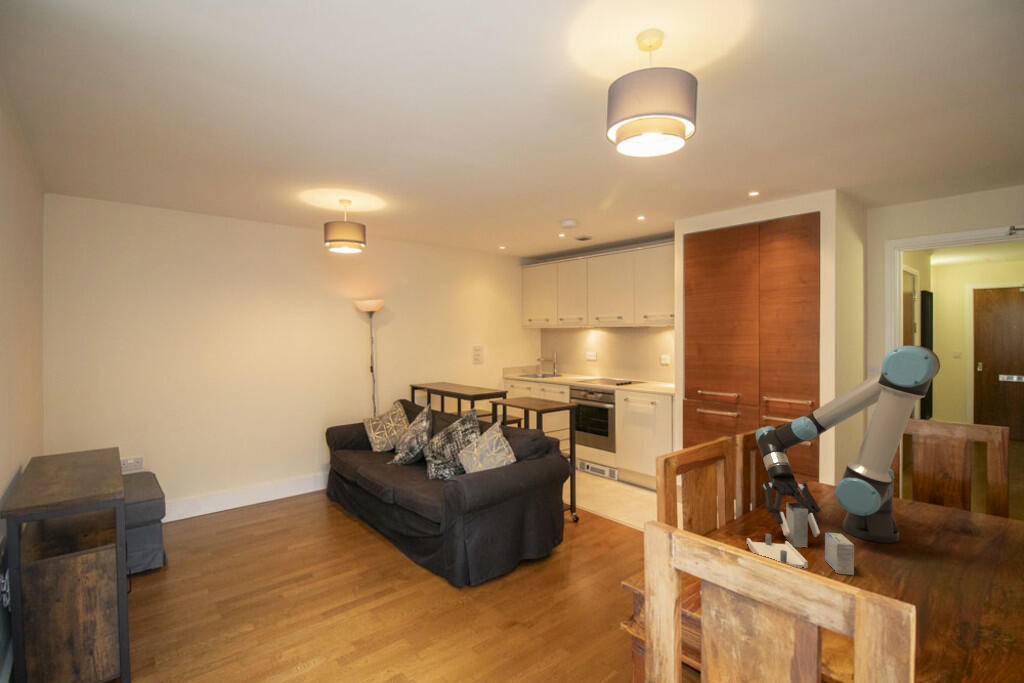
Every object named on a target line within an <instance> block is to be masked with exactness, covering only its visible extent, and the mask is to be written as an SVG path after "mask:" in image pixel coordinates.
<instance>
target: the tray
mask: <svg viewBox="0 0 1024 683" xmlns="http://www.w3.org/2000/svg"><path fill="white" fill-rule="evenodd" d="M747 544H748V546H749V547H748V546H747V547H748V548H749V549H750V551H751V552H752V554H753V553H756V554H759V555H762V556H766V557H769V558H772V559H775V560H777V561H780V562H783V563H786V564H789V565H792V566H794V567H797V568H796V569H806V568H807V570H808V566H809V565H808V563H809V562H808V560H806V558H805V557H803V555H802V554H801V553H800V552H799V551H798V550H797V549H796V547H793V546H792V545H791V544H790V543H789V542H788V541H787V540H785V541H784V543H774V542H773V543H772V534H770V533H765V542H760V541H759V542H757V541H752V540H751V538H748V537H747V538H746V545H747ZM802 567H804V568H802Z"/></svg>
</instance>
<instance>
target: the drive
mask: <svg viewBox="0 0 1024 683" xmlns="http://www.w3.org/2000/svg"><path fill="white" fill-rule="evenodd" d="M785 508H786V511H785V513H786V516H785V519H786V522H787V525H788V528H789V531H790V533H789V534H788V535H787V536H785V540H786V539H787V540H788V541H789V542H790V543H791V545H792V546H794V548H801V547H806V548H805V549H808V534H809V533H808V532H809V531H808V529H809V528H808V526H809V522H808V509H807V508H806V507H805V506H804V505H802V504H800V503H798V502H788V501H787V502H786V507H785ZM787 540H786V541H787Z"/></svg>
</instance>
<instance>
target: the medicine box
mask: <svg viewBox="0 0 1024 683" xmlns="http://www.w3.org/2000/svg"><path fill="white" fill-rule="evenodd" d="M824 534H825V535H824V561H826V562H827V563H828V564H829V565H830V566H831V567H832V568H833V569H832V568H831V567H830V566H829V565H828V564H827V563H826V562H825V563H826V564H827V565H828V566H829V567H830V568H831V569H832V570H833V571H834V570H835V571H834V572H835V573H836V574H837V573H838V575H845V574H846V575H847V576H854V575H855V544H854V543H852V542H851V541H850V540H849V539H848V538H846V536H844V535H843V534H842V533H837V532H825V533H824Z"/></svg>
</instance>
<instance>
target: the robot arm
mask: <svg viewBox="0 0 1024 683" xmlns="http://www.w3.org/2000/svg"><path fill="white" fill-rule="evenodd" d="M940 369H941V362H940V359H939V356H938V355H937V354H936V352H934V351H933V350H931V349H929V348H927V347H924V346H921V345H910V344H909V345H901V346H898V347H896V348H893V349H892V350H890V351H889V352H888V353H887V354H886V355H885V356H884V357H883V359H882V362H881V367H880V371H879V372H877V373H875V374H874V375H872V376H871V377H869V378H867V379H865V380H864V381H862V382H860V383H859V384H857V385H855V386H853V387H852V388H850V389H849V390H847V391H846V392H843V393H842V394H840V395H839V396H836V397H835V398H834V399H833V400H830V401H829V402H827V403H825V404H824V405H822V406H820V407H819V408H817V409H815V410H814V411H812V412H810V413H808V414H806V415H805V416H804V415H803V416H801V417H798V418H795V419H793V420H792V421H790V422H787V423H786V424H784V425H782V426H780V427H778V428H776V427H773V426H768V425H767V426H764V427H763V426H762V427H760V428H758V429H757V430H756V431H755V439H756V445H757V446H758V449H759V451H760V453H761V454H760V455H761V457H762V460H763V463H764V467H765V469H766V472H767V476H768V478H769V481H770V482H768V481H765V482H764V483H763V485H762V489H763V492H764V496H765V506H766V512H767V513H768V514H772V516H773V517H775V520H776V523H777V524H778V525H780V527H781V530H782V533H783V536H784V537H786V536H787V535H788V534H789V533H790V531H789V528H788V525H787V522H786V516H785V514H784V512H783V511H781V508H782V507H781V506H782V500H783V497H784V496H789V497H791V498H792V499H794V500H795V501H796V503H800V504H802V505H804V506H805V507H806V508H807V509H808V525H809V528H810V529H811V532H812V535H813V537H814V538H817V537H818V536H819V535H820V534H821V532H820V529H819V527H818V525H819V520H818V518H817V515H818V514H819V513H821V508H820V506H819V505H818V503H817V502H816V500H815V498H814V497H813V495H812V493H811V492H810V490H809V487H808V484H807V483H806V482H804V483H803V484H802V483H798V482H797V480H796V479H795V478H796V477H795V474H794V472H793V469H792V467H791V464H790V462H789V459H788V456H787V454H786V450H789V449H791V448H793V447H795V446H798V445H800V444H802V443H804V442H807V441H809V440H812V439H815V438H818V437H819V436H821V434H823V433H825V432H827V431H828V430H830V429H832V428H834V427H836V426H837V425H839V424H841V423H842V422H844V421H846V420H848V419H850V418H852V417H853V416H855V415H857V414H858V413H860V412H862V411H864V410H865V409H867V408H869V407H871V406H873V405H875V404H876V405H875V407H874V410H873V413H872V416H871V418H870V421H869V423H868V426H867V429H866V430H865V434H864V436H863V438H862V442H861V445H860V447H859V450H858V453H857V455H856V458H855V460H854V461H851V462H848V463H847V465H846V468H845V471H844V473H843V476H842V478H841V480H839V481H838V483H837V484H836V486H835V489H834V490H835V491H834V493H835V497H836V500H837V502H838V503H839V505H840V506H841V507H842V508H843V509H844V510H845V511H847V512H846V514H845V517H844V519H843V523H842V529H843V530H844V531H845V533H847V534H849V535H851V536H853V537H857V538H860V539H862V540H865V541H870V542H876V543H885V544H887V543H888V544H890V543H891V544H892V543H897V542H899V541H900V530H899V527H898V525H897V522H896V520H895V517H894V488H895V487H894V482H895V474H894V471H893V469H891V466H892V464H893V460H894V458H895V456H896V453H897V451H898V448H899V445H900V443H901V440H902V438H903V435H904V433H905V430H906V428H907V425H908V423H909V420H910V417H911V415H912V413H913V410H914V407H915V405H916V403H917V401H918V400H920V399H922V398H925V397H926V395H927V393H928V390H929V388H930V386H931V383H932V380H933V379H934V378H935V377H936V376H937V375H938V374H939V372H940ZM772 489H773V490H774V491H776V493H775V501H774V502H773V494H772V493H773V492H772Z"/></svg>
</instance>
